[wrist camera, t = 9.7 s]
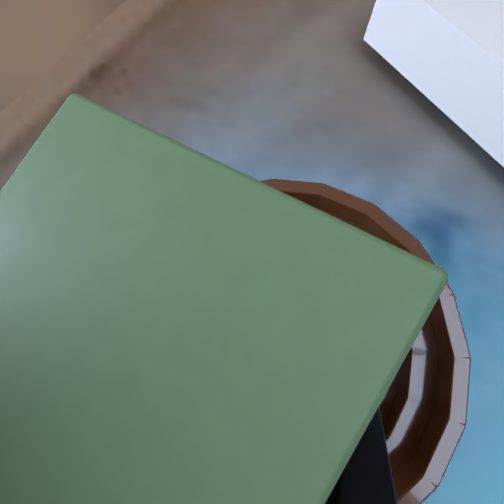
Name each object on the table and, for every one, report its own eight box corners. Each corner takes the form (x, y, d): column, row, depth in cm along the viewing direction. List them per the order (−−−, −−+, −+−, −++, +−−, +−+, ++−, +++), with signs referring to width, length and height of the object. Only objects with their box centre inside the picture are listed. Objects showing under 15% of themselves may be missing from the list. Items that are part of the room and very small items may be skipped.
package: (296, 451, 14) (51, 1013, 2) (201, 376, 16) (-205, 465, 4) (365, 330, 15) (461, 269, 3) (265, 271, 17) (70, 86, 5)
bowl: (349, 575, 15) (358, 664, 11) (108, 392, 20) (51, 410, 16) (485, 282, 17) (537, 269, 13) (230, 171, 21) (208, 135, 17)
